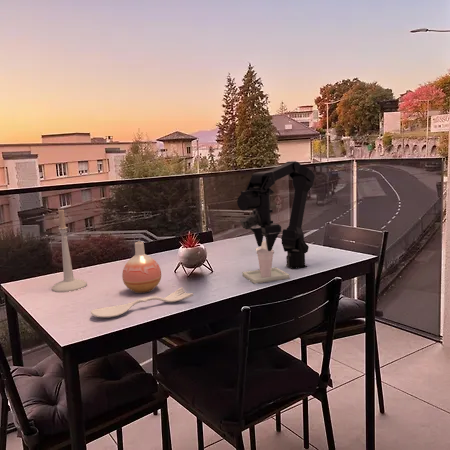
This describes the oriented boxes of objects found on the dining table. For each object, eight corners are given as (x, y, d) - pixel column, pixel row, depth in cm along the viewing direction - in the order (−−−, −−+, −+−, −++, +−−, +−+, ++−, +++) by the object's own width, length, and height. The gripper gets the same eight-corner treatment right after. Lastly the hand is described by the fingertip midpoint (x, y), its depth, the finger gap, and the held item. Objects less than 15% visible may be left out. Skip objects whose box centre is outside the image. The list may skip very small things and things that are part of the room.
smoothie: (273, 278, 170) (272, 241, 168) (256, 278, 171) (255, 241, 169) (275, 273, 176) (274, 237, 174) (258, 273, 178) (257, 237, 175)
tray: (275, 271, 182) (275, 267, 181) (289, 278, 170) (289, 274, 170) (242, 276, 177) (242, 272, 177) (254, 284, 166) (254, 279, 166)
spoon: (194, 302, 150) (194, 292, 150) (95, 324, 135) (94, 313, 135) (183, 295, 158) (182, 285, 158) (88, 316, 143) (87, 305, 143)
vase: (117, 290, 167) (113, 243, 164) (151, 282, 175) (147, 237, 172) (134, 299, 156) (129, 248, 154) (169, 290, 164) (165, 241, 161)
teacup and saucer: (273, 251, 218) (272, 243, 217) (256, 252, 218) (255, 244, 217) (271, 247, 226) (271, 239, 226) (255, 248, 227) (254, 240, 226)
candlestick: (49, 286, 178) (39, 209, 174) (82, 280, 185) (74, 205, 180) (55, 294, 167) (45, 212, 163) (91, 287, 174) (82, 208, 169)
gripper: (233, 206, 176) (235, 246, 179) (251, 211, 158) (253, 256, 161) (260, 203, 179) (262, 243, 182) (281, 208, 162) (282, 252, 164)
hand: (264, 248), depth 172 cm, fingers open, 9 cm apart
